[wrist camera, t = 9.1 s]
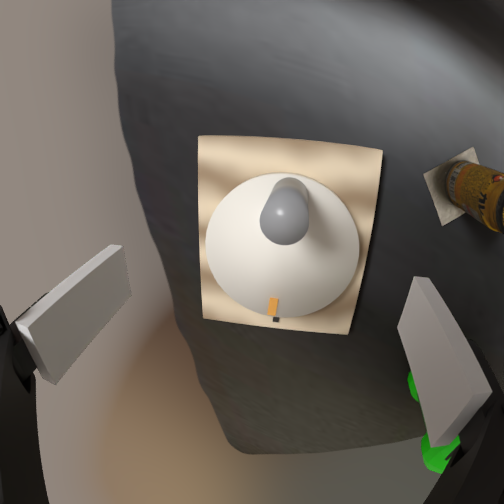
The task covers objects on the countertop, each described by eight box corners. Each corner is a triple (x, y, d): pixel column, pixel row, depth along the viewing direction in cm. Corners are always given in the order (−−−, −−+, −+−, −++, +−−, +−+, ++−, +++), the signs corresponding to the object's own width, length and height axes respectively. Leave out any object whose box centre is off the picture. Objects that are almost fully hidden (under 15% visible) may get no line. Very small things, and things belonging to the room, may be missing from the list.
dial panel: (203, 135, 33) (197, 136, 31) (378, 149, 30) (383, 150, 28) (207, 310, 43) (202, 319, 40) (346, 325, 40) (348, 336, 38)
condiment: (488, 197, 29) (543, 229, 18) (441, 225, 32) (487, 267, 21) (472, 146, 27) (531, 161, 16) (422, 173, 30) (471, 198, 19)
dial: (208, 295, 39) (178, 351, 29) (214, 163, 32) (174, 181, 22) (337, 317, 37) (344, 379, 27) (370, 186, 30) (401, 216, 20)
